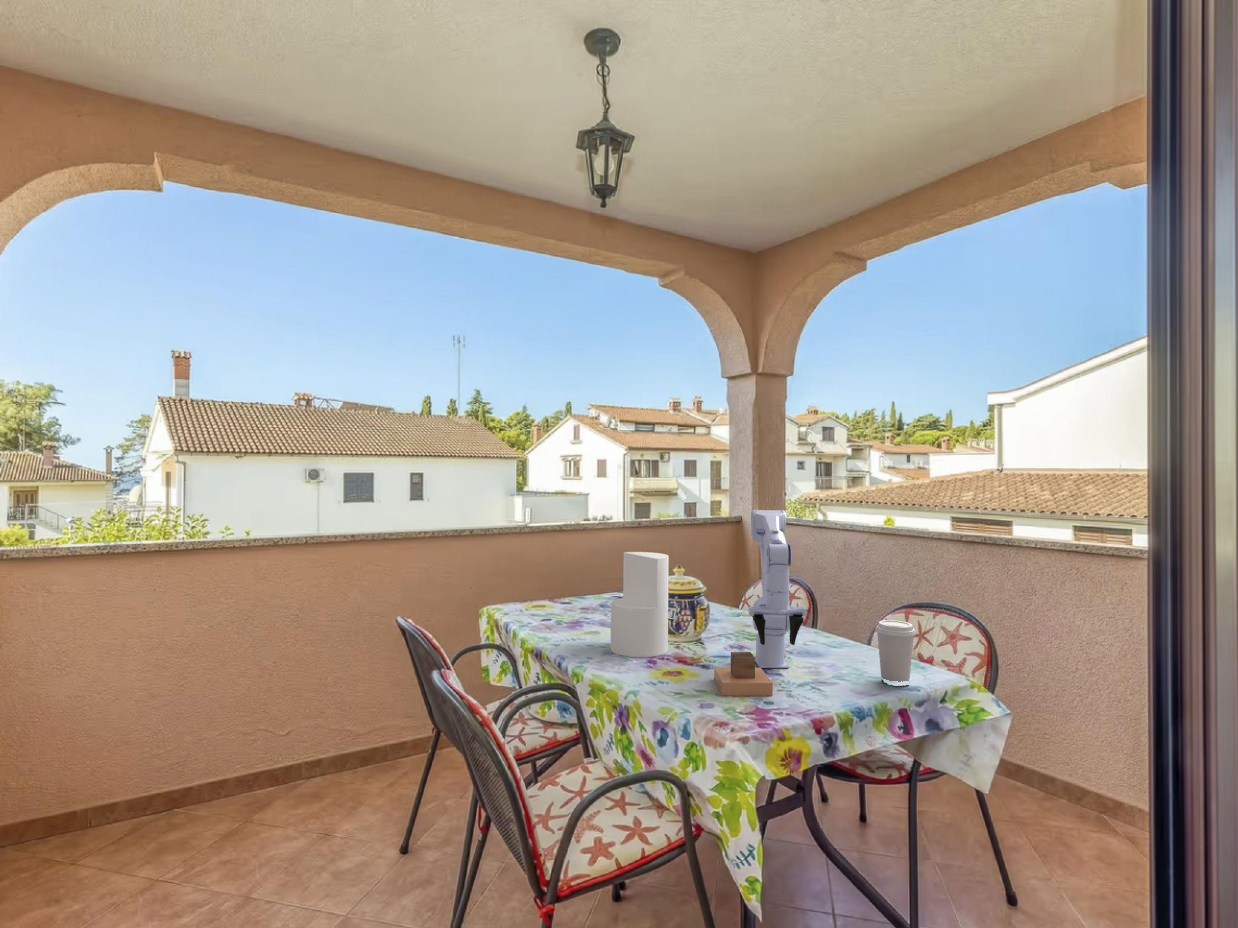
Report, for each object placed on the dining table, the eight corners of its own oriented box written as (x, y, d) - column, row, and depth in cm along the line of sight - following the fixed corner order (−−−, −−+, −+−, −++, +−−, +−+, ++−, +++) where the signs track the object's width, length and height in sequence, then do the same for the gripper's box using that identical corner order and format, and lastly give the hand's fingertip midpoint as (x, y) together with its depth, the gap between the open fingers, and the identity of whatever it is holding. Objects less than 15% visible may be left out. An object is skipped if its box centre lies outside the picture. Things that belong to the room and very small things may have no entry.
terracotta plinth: (714, 679, 165) (714, 667, 165) (760, 679, 165) (760, 667, 165) (722, 695, 153) (722, 682, 153) (772, 695, 153) (772, 682, 153)
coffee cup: (868, 682, 164) (868, 623, 164) (884, 674, 170) (884, 617, 170) (906, 691, 157) (907, 630, 157) (921, 682, 163) (921, 623, 164)
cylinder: (645, 638, 205) (645, 550, 205) (679, 651, 190) (680, 556, 191) (599, 646, 195) (600, 554, 195) (632, 660, 181) (633, 561, 181)
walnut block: (730, 671, 161) (730, 651, 161) (750, 671, 161) (750, 652, 161) (734, 678, 156) (734, 657, 156) (755, 678, 156) (755, 657, 156)
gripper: (752, 593, 160) (752, 647, 160) (810, 593, 160) (810, 648, 160) (746, 588, 167) (746, 640, 167) (802, 588, 167) (801, 640, 167)
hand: (777, 643), depth 164 cm, fingers open, 7 cm apart
